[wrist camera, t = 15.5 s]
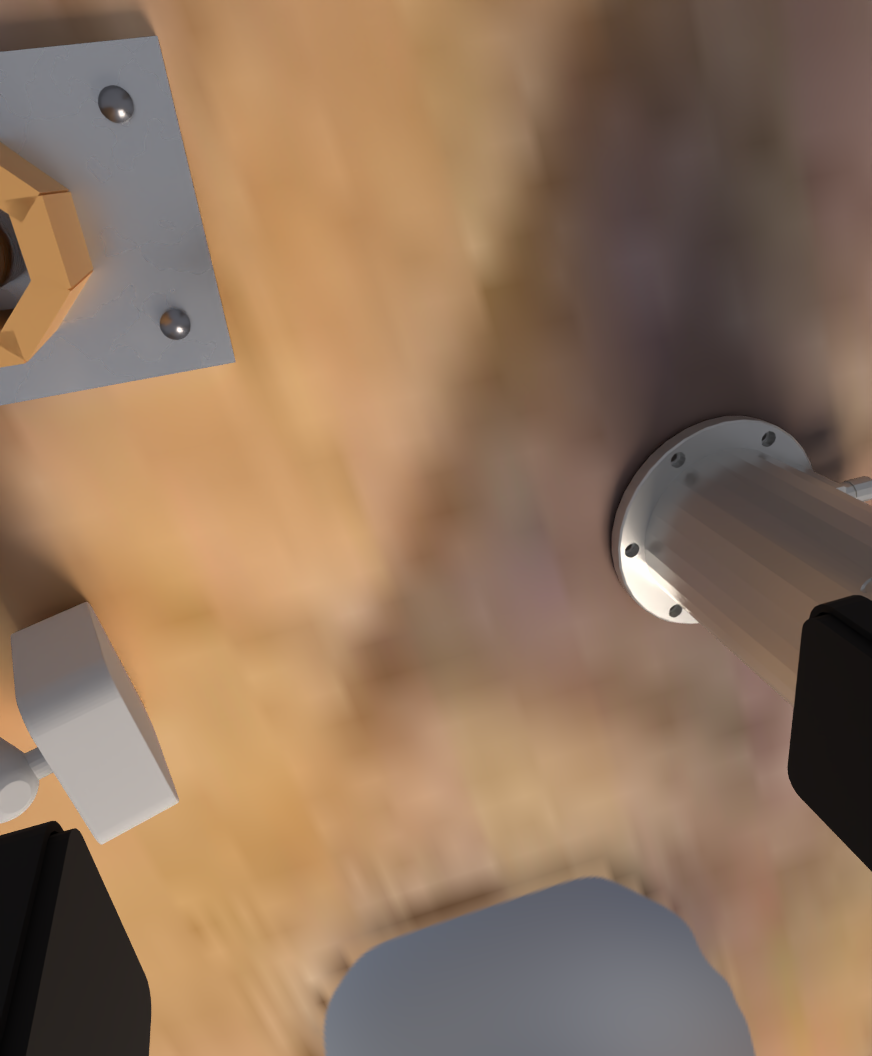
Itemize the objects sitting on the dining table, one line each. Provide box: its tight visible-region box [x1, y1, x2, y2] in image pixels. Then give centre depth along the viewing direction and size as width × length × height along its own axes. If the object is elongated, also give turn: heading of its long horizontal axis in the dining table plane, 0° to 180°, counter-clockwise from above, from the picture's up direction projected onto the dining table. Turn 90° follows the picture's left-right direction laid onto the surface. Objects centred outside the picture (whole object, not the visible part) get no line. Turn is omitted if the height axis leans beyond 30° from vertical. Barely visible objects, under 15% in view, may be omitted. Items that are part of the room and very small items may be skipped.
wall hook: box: [0, 602, 179, 844], centre depth 34 cm, size 8×10×10 cm
